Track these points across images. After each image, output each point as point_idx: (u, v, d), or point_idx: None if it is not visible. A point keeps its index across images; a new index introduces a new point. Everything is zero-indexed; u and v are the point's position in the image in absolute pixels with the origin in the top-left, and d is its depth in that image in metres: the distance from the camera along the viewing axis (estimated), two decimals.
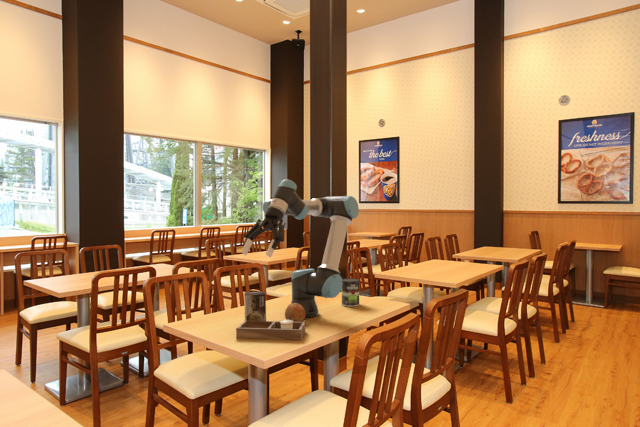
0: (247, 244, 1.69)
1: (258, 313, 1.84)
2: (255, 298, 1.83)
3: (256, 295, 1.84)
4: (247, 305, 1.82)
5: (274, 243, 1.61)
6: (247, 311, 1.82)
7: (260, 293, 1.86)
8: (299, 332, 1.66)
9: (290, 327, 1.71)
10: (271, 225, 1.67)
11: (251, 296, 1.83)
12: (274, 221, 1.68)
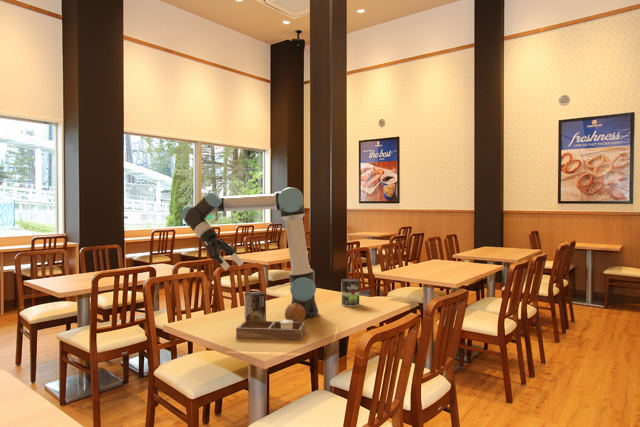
0: (234, 259, 1.96)
1: (258, 313, 1.84)
2: (255, 298, 1.83)
3: (256, 295, 1.84)
4: (247, 305, 1.82)
5: None
6: (247, 311, 1.82)
7: (260, 293, 1.86)
8: (299, 332, 1.66)
9: (290, 327, 1.71)
10: None
11: (250, 296, 1.83)
12: None
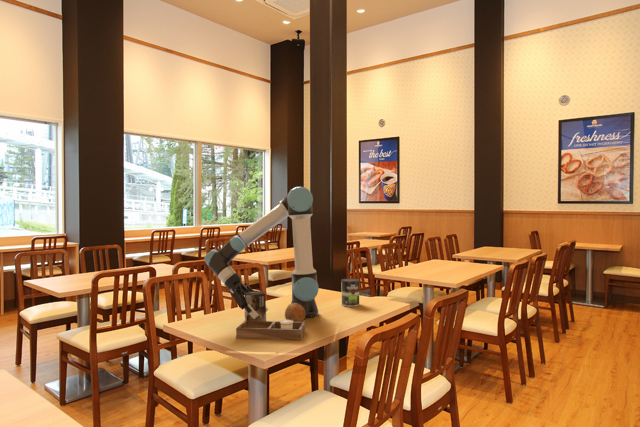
0: None
1: (258, 313, 1.84)
2: (255, 298, 1.83)
3: (256, 295, 1.84)
4: None
5: None
6: None
7: (260, 293, 1.86)
8: (299, 332, 1.66)
9: (290, 327, 1.71)
10: None
11: (251, 296, 1.83)
12: None
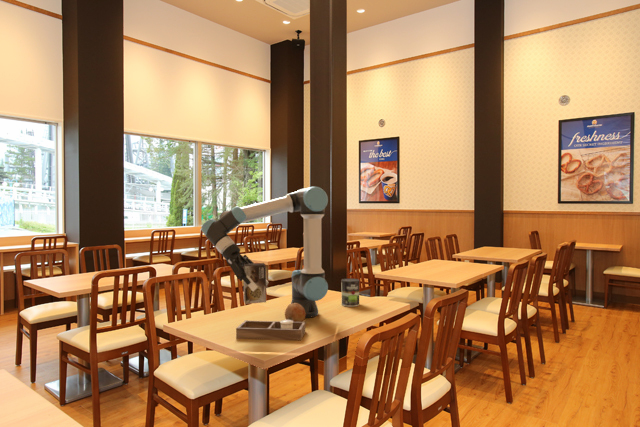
0: None
1: (258, 285, 1.72)
2: (254, 269, 1.72)
3: (255, 266, 1.72)
4: None
5: None
6: None
7: (260, 264, 1.74)
8: (299, 332, 1.66)
9: (290, 327, 1.71)
10: None
11: (250, 267, 1.71)
12: None
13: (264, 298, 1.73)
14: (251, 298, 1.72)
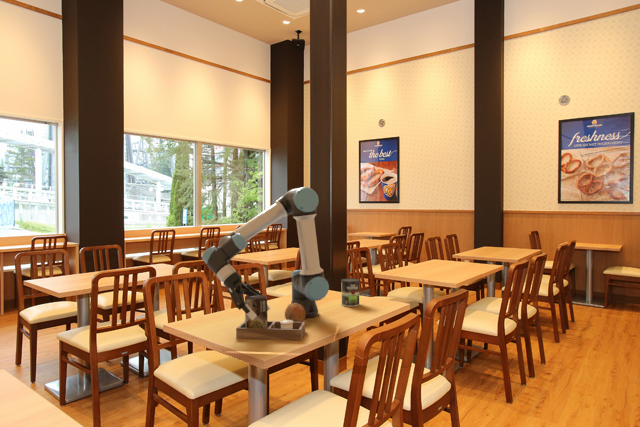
0: None
1: (259, 318, 1.71)
2: (256, 302, 1.71)
3: (257, 299, 1.71)
4: None
5: None
6: (247, 316, 1.70)
7: (261, 297, 1.73)
8: (299, 332, 1.66)
9: (290, 327, 1.71)
10: None
11: (251, 300, 1.70)
12: None
13: None
14: None
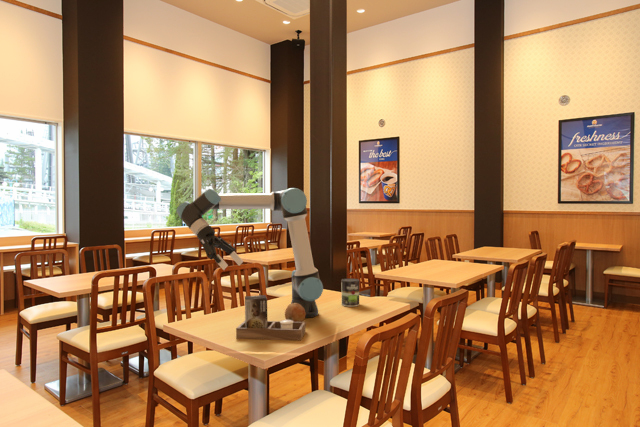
0: (234, 258, 1.85)
1: (259, 318, 1.71)
2: (256, 302, 1.71)
3: (257, 299, 1.71)
4: (247, 310, 1.70)
5: None
6: (247, 316, 1.70)
7: (261, 297, 1.73)
8: (299, 332, 1.66)
9: (290, 327, 1.71)
10: None
11: (251, 300, 1.70)
12: None
13: None
14: None
